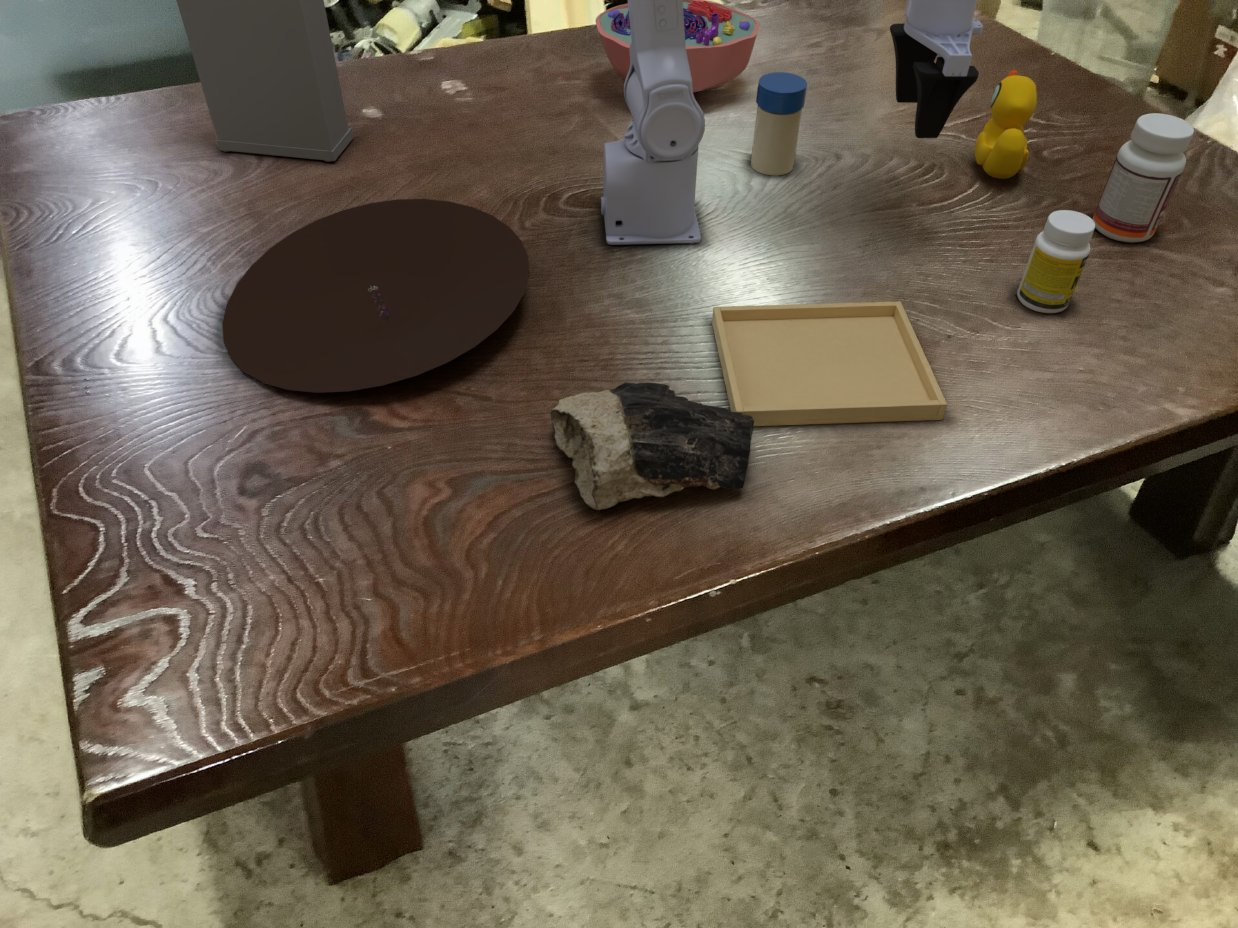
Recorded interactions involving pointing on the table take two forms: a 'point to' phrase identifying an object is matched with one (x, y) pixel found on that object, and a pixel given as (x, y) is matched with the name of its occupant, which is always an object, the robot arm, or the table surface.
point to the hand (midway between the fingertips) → (916, 118)
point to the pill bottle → (1143, 178)
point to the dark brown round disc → (374, 295)
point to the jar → (775, 142)
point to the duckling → (1007, 127)
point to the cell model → (691, 41)
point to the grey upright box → (268, 76)
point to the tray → (825, 364)
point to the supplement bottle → (1056, 262)
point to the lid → (781, 92)
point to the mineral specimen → (649, 443)
